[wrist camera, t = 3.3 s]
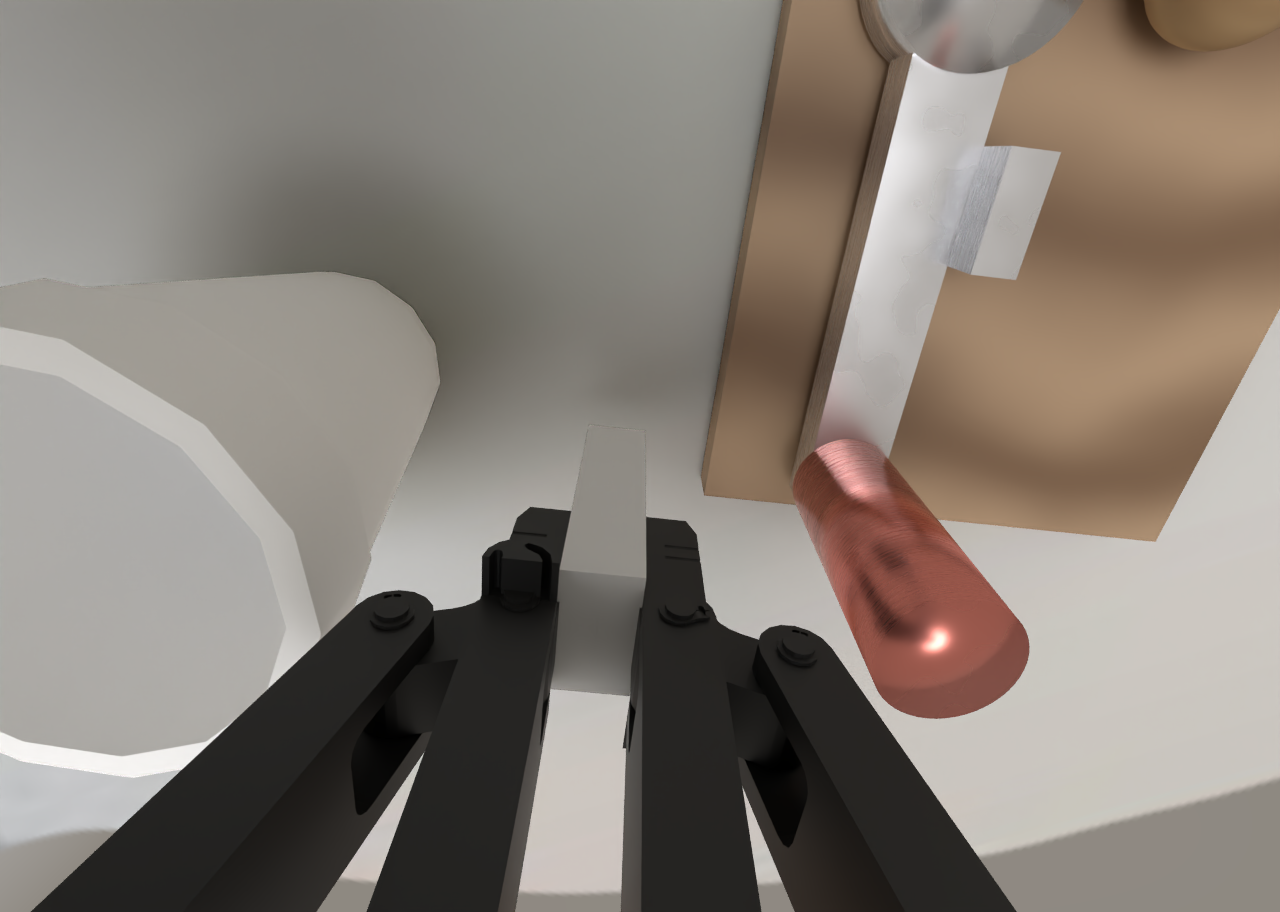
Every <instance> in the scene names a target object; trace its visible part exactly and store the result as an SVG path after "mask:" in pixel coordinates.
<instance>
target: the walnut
mask: <svg viewBox="0 0 1280 912" xmlns="http://www.w3.org/2000/svg"><path fill="white" fill-rule="evenodd" d="M1144 5H1145V11H1146V14H1147V17H1148V20H1149V22H1150V24H1151V26H1152V27H1153V28H1154V30H1155V31H1156V32H1157V33H1158V34H1159V35H1160V36H1161V37H1162V38H1163V39H1164V40H1166V41H1167V42H1169V43H1170V44H1173V45H1175V46H1178V47H1180V48H1182V49H1187V50H1192V51H1203V52H1208V51H1219V50H1226V49H1230V48H1234V47H1238V46H1241V45H1244V44H1247V43H1249V42H1252V41H1254V40H1257V39H1259V38H1261V37H1263V36H1265V35H1267V34H1269V33H1271V32H1272V31H1274V30H1276V29H1277V28H1279V27H1280V0H1144Z"/></svg>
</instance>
